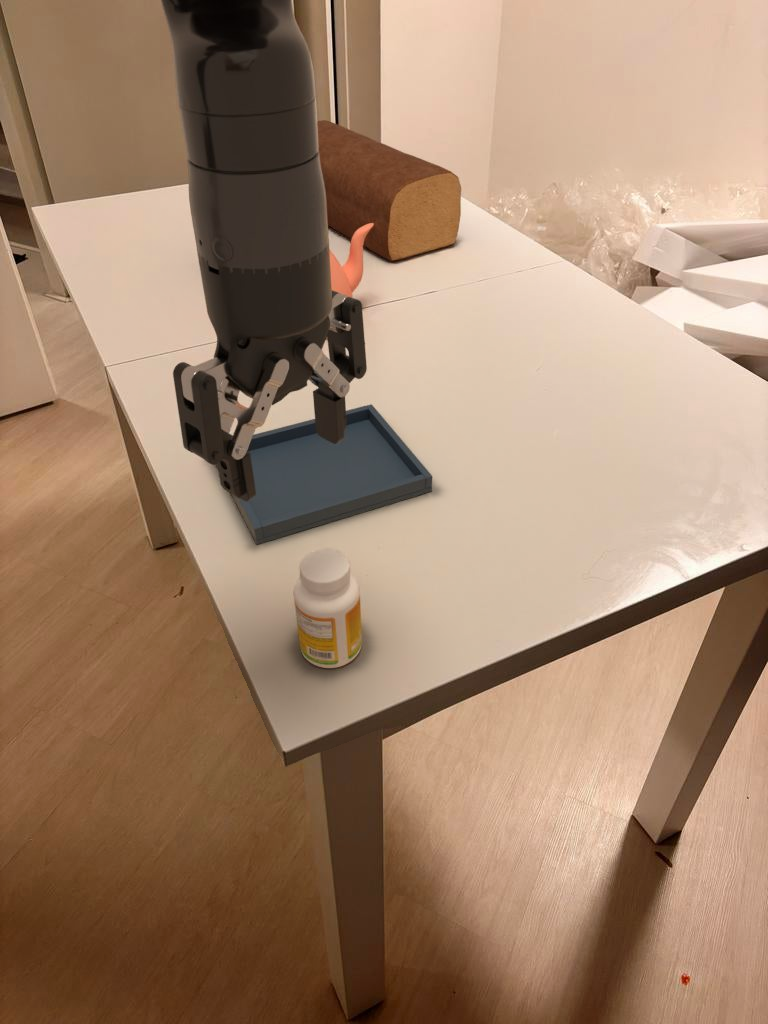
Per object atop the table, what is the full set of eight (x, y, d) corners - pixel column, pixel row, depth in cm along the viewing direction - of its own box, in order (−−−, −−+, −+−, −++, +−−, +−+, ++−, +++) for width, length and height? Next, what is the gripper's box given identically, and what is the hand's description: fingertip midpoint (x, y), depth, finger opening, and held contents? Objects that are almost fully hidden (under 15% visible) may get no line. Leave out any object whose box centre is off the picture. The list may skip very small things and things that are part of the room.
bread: (341, 184, 162) (338, 112, 154) (462, 244, 137) (466, 162, 129) (274, 200, 156) (267, 125, 147) (388, 266, 131) (387, 181, 122)
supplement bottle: (347, 614, 72) (342, 533, 66) (372, 656, 69) (369, 575, 62) (291, 634, 71) (280, 553, 64) (313, 678, 67) (305, 597, 61)
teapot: (356, 284, 126) (353, 203, 118) (397, 326, 115) (397, 240, 107) (218, 310, 119) (206, 227, 111) (248, 358, 108) (236, 269, 100)
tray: (256, 544, 80) (254, 529, 78) (213, 460, 90) (210, 445, 89) (432, 491, 86) (432, 475, 84) (372, 418, 97) (371, 403, 95)
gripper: (305, 190, 52) (320, 404, 62) (118, 259, 43) (172, 492, 54) (393, 216, 48) (394, 440, 58) (207, 297, 40) (247, 541, 50)
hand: (287, 465), depth 56 cm, fingers open, 8 cm apart
